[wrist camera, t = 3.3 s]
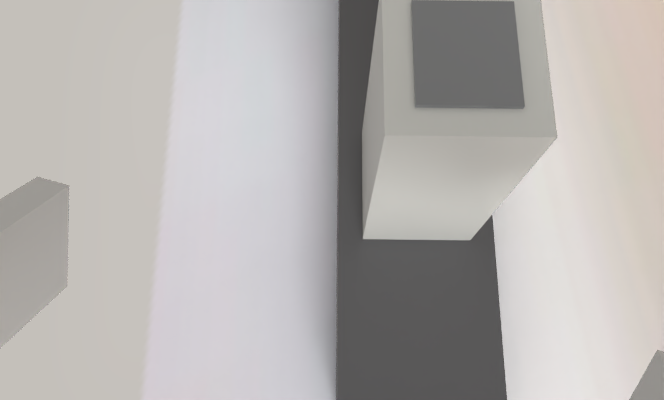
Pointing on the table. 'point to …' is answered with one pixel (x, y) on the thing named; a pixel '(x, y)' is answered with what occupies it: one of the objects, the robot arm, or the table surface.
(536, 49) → the block
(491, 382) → the power strip
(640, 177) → the table surface
